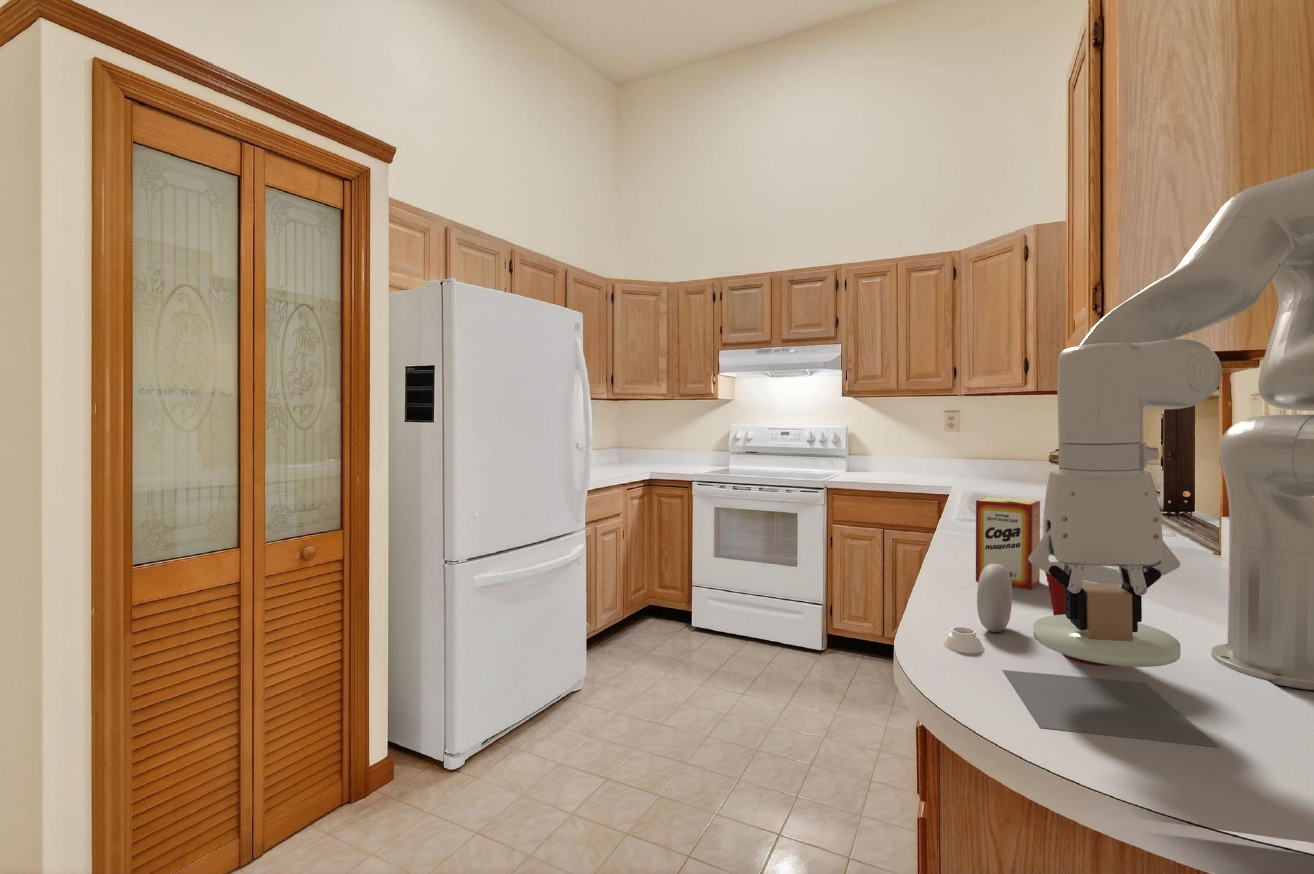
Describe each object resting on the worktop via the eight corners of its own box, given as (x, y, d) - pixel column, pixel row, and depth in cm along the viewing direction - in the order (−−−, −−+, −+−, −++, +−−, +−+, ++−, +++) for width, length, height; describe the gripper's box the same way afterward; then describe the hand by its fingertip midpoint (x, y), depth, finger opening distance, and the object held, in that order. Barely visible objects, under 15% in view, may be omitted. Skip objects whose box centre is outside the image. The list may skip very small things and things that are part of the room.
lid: (1144, 625, 73) (1144, 574, 73) (1208, 671, 61) (1208, 609, 61) (1019, 620, 77) (1018, 571, 77) (1055, 662, 64) (1054, 604, 64)
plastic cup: (1132, 686, 74) (1133, 585, 74) (1030, 661, 82) (1030, 569, 82) (1150, 661, 82) (1151, 569, 81) (1054, 640, 90) (1055, 556, 89)
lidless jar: (969, 644, 89) (936, 646, 88) (969, 623, 89) (936, 625, 88) (992, 657, 84) (956, 659, 83) (992, 635, 84) (956, 637, 83)
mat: (1144, 687, 74) (1144, 682, 74) (1219, 753, 59) (1219, 747, 59) (1002, 674, 78) (1002, 669, 78) (1040, 733, 64) (1040, 727, 64)
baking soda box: (975, 581, 122) (975, 498, 122) (985, 574, 127) (985, 495, 126) (1031, 589, 116) (1032, 502, 115) (1039, 582, 121) (1040, 499, 120)
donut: (989, 619, 99) (989, 556, 99) (1014, 624, 97) (1014, 559, 96) (973, 637, 91) (974, 568, 91) (1000, 642, 89) (1000, 572, 89)
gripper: (1174, 454, 69) (1175, 619, 70) (1004, 458, 74) (1008, 612, 75) (1213, 460, 62) (1215, 644, 63) (1022, 464, 67) (1026, 635, 67)
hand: (1102, 625), depth 69 cm, fingers closed on lid, 4 cm apart
